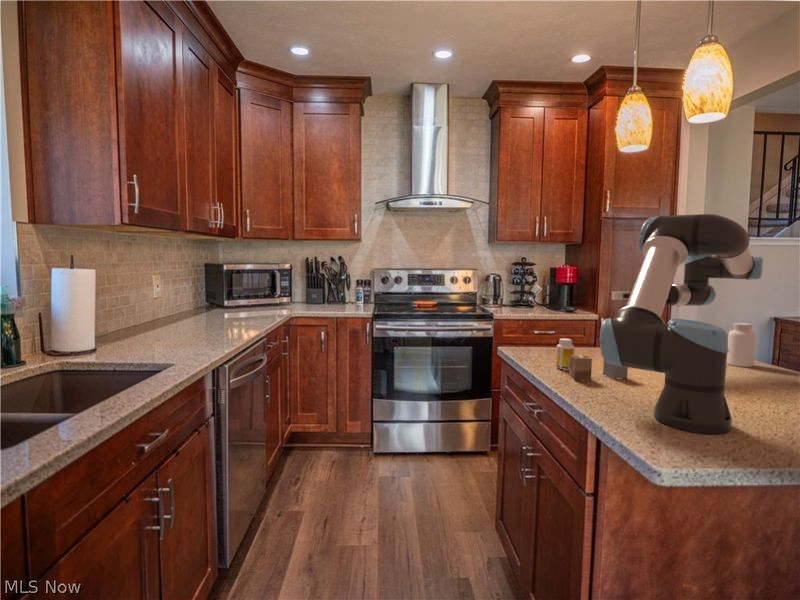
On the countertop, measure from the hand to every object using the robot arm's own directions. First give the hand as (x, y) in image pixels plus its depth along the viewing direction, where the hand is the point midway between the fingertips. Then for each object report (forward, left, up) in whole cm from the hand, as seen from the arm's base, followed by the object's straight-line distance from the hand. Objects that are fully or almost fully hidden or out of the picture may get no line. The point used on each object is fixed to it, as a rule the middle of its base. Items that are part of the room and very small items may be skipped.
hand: (613, 295), depth 157 cm
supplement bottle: (-4, +16, -25) cm, 30 cm away
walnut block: (-17, +16, -25) cm, 34 cm away
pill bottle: (+8, -49, -25) cm, 56 cm away
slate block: (-14, +4, -25) cm, 29 cm away
